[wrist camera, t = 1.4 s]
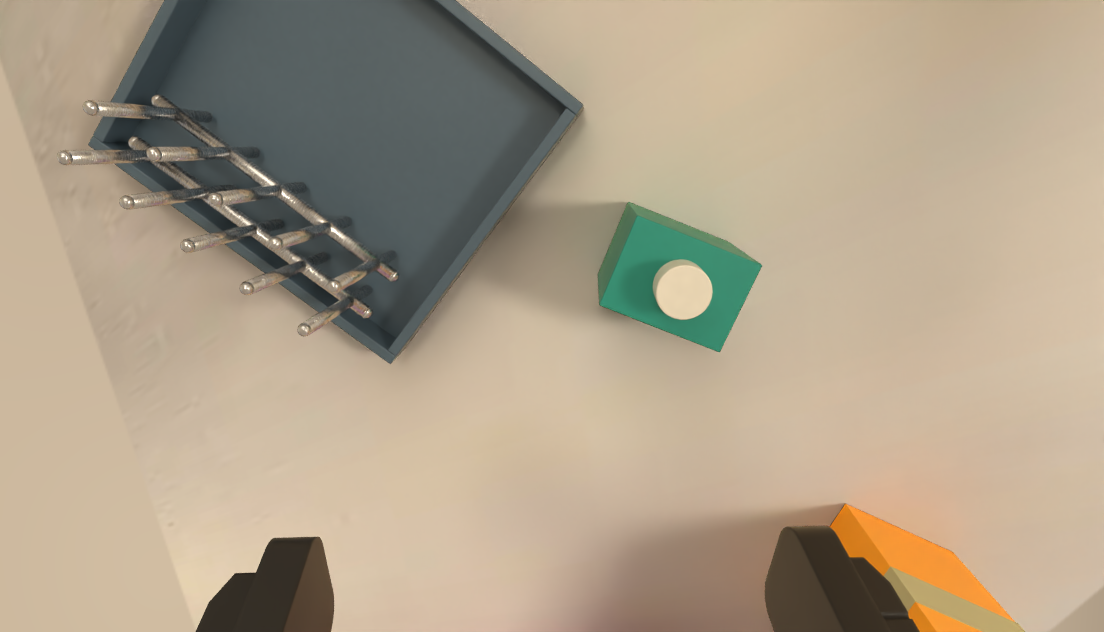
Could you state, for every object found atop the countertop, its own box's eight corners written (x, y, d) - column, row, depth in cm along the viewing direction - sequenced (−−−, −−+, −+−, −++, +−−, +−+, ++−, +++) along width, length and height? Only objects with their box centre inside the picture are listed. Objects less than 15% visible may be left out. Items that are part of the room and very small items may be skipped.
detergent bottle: (627, 201, 34) (639, 218, 26) (729, 242, 35) (772, 271, 26) (597, 275, 35) (599, 313, 27) (695, 313, 36) (726, 363, 28)
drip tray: (278, -142, 31) (251, -167, 29) (584, 108, 33) (583, 105, 31) (122, 144, 35) (86, 144, 33) (403, 350, 37) (390, 364, 35)
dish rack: (191, 95, 34) (60, 78, 25) (416, 264, 35) (362, 300, 27) (163, 144, 34) (28, 144, 26) (385, 307, 36) (323, 355, 28)
